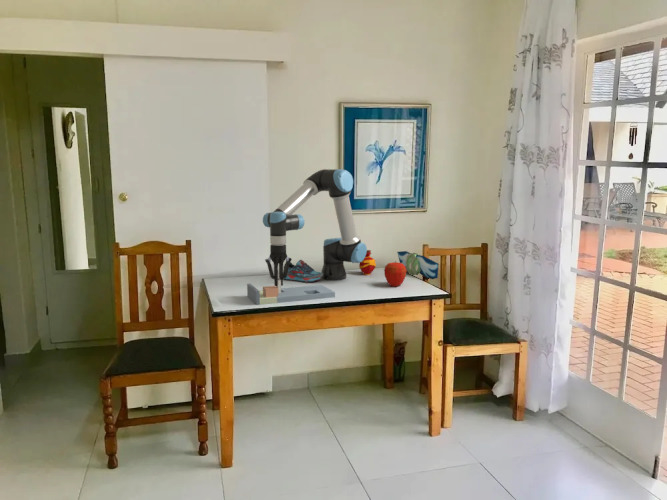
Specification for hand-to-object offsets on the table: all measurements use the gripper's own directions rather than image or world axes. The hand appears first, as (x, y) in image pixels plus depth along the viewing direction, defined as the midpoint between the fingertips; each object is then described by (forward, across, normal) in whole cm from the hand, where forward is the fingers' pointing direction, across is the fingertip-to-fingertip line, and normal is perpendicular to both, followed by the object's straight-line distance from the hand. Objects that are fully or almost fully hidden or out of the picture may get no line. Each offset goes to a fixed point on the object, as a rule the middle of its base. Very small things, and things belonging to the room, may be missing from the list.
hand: (278, 292), depth 258 cm
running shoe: (+4, -26, -38) cm, 46 cm away
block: (+2, +4, -1) cm, 4 cm away
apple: (+4, -68, -6) cm, 68 cm away
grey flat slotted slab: (+4, -8, -5) cm, 10 cm away
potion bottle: (+4, -67, -38) cm, 77 cm away
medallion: (+4, -92, -26) cm, 96 cm away
